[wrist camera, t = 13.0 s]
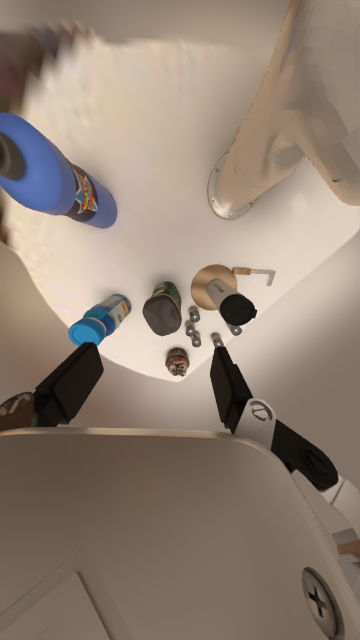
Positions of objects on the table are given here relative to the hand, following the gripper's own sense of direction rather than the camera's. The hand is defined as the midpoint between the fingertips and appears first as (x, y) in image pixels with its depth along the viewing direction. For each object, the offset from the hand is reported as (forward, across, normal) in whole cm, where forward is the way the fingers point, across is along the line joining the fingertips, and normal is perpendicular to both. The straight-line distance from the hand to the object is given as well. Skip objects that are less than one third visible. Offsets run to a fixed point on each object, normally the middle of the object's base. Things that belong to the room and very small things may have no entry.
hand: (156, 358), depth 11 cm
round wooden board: (+36, -13, +3) cm, 39 cm away
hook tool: (+36, -25, -1) cm, 44 cm away
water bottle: (+36, +20, -17) cm, 45 cm away
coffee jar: (+36, +2, +6) cm, 37 cm away
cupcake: (+37, -2, +32) cm, 49 cm away
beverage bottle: (+36, +19, +10) cm, 42 cm away
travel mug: (+36, -14, +3) cm, 39 cm away
